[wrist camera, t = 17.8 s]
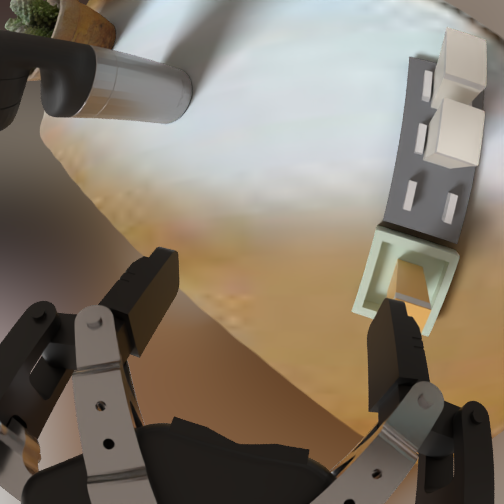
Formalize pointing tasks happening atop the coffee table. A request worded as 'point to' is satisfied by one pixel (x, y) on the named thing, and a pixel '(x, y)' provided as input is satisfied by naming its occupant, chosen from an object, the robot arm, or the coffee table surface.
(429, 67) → the fuse block
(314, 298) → the coffee table surface
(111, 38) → the potted plant
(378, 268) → the tray
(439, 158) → the block
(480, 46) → the end white fuse
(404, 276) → the block
